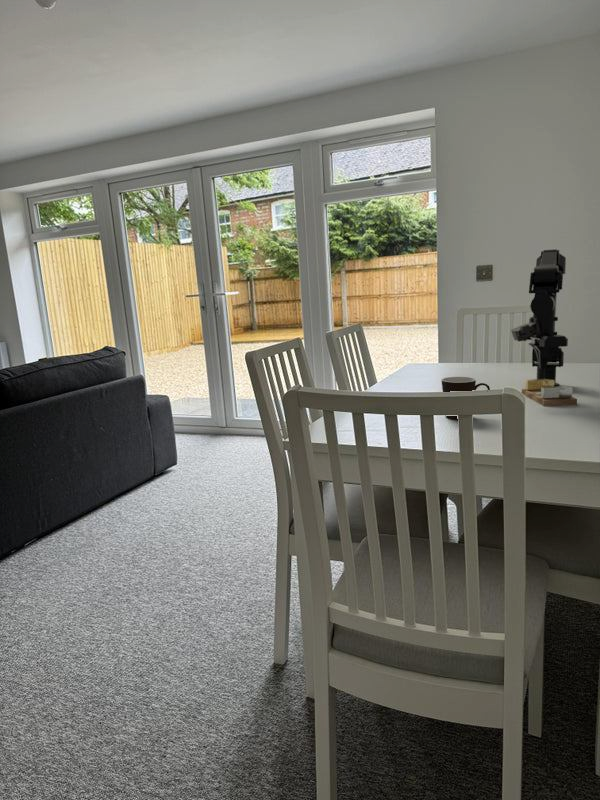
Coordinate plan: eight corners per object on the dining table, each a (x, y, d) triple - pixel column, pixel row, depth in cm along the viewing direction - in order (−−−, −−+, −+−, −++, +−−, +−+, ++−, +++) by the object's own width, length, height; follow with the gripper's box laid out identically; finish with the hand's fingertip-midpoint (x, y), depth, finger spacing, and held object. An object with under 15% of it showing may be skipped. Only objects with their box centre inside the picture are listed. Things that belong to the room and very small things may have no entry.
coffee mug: (437, 419, 148) (437, 381, 146) (445, 412, 155) (445, 376, 153) (484, 423, 143) (484, 383, 141) (490, 415, 150) (490, 377, 148)
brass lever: (550, 387, 173) (551, 377, 172) (556, 389, 169) (556, 380, 168) (524, 388, 173) (524, 379, 172) (528, 390, 169) (529, 381, 168)
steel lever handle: (568, 394, 161) (568, 385, 160) (574, 397, 157) (575, 387, 156) (539, 396, 161) (539, 386, 161) (545, 399, 157) (545, 389, 157)
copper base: (521, 393, 174) (521, 388, 173) (551, 392, 173) (551, 386, 173) (543, 405, 157) (543, 399, 157) (576, 404, 157) (577, 398, 156)
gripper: (504, 312, 170) (502, 365, 173) (527, 317, 151) (525, 375, 155) (542, 311, 169) (540, 363, 173) (569, 315, 151) (567, 373, 154)
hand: (542, 368), depth 164 cm, fingers closed
